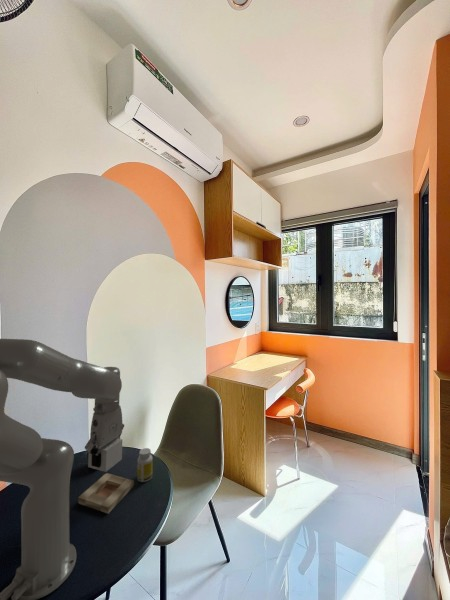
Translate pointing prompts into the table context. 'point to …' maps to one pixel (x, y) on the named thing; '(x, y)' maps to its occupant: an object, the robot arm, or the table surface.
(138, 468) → the supplement bottle
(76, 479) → the table surface
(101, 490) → the socket board
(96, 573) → the table surface
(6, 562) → the table surface
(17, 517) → the table surface
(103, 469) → the light gray cube
